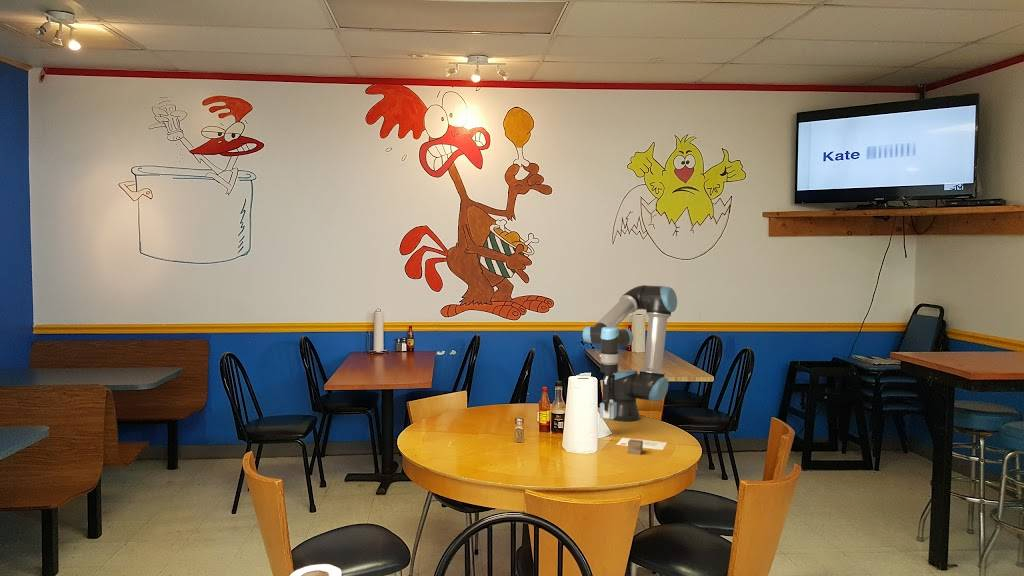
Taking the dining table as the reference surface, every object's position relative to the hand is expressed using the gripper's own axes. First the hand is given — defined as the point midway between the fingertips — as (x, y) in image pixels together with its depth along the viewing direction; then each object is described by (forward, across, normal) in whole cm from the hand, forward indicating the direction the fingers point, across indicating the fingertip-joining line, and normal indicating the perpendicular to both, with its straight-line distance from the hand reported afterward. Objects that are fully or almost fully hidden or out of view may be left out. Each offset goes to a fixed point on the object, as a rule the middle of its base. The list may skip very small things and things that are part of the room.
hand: (608, 416), depth 326 cm
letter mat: (+9, +6, +16) cm, 19 cm away
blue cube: (0, 0, 0) cm, 0 cm away
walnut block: (+9, +21, +16) cm, 28 cm away
